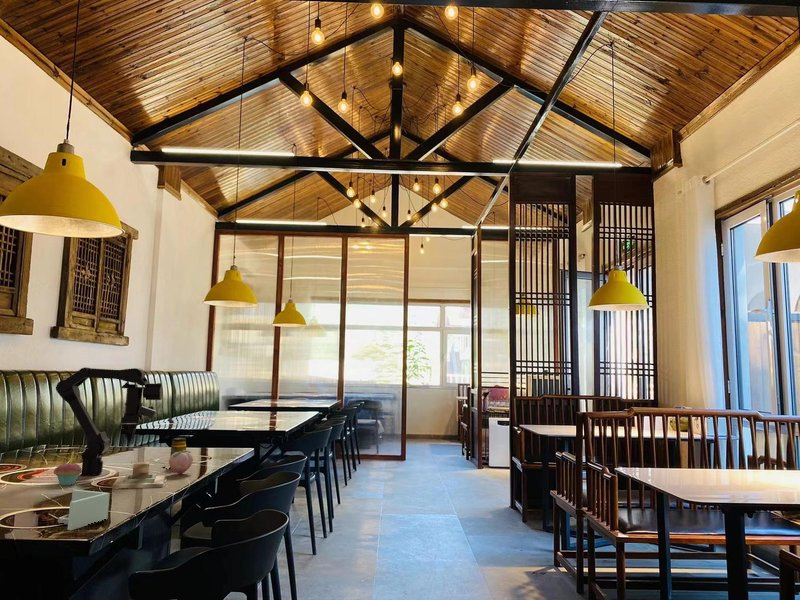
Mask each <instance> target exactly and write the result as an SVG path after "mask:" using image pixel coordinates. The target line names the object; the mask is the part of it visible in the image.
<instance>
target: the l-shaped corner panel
mask: <svg viewBox="0 0 800 600" xmlns="http://www.w3.org/2000/svg"><path fill="white" fill-rule="evenodd" d="M71 493H72V494H71V501H69V511H68V514H65V515H63V516H60V517H58V518H57V523H58V524H60V523H64V524H63V525H67V531H73V530H76V529H80V528H84V527H86V526H89V525H88V524H90V525H92V524H91V523H93V524H95V523H94V522H96V523H98V521H99V522H102V520H103V521H105V520H104V519H106V520H108V518H109V516H108V515H109V503H110V496H111V495H110V492H102V491H92V490H81V489H73V490H72V492H71Z"/></svg>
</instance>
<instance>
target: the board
mask: <svg viewBox="0 0 800 600" xmlns="http://www.w3.org/2000/svg"><path fill="white" fill-rule="evenodd" d="M165 479H166V475H157V473H149V475H148V479H132V474H126V475H125V476H118V477H117V478H116V480H115V481H114V482H113V484H112V486H111V487H112V488H111V489H112V490H119V489H118V488H128V489H146V488H148V489H150V488H163V487H164V484H165Z"/></svg>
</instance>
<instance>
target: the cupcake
mask: <svg viewBox="0 0 800 600" xmlns="http://www.w3.org/2000/svg"><path fill="white" fill-rule="evenodd" d="M74 455H75V450H74V449H73V450H72V451H71V457H70V460H69V463H67V462H65V463H63V464H60V465H58V466H57V467H56V468H55V469H54V470H53V475H55V476H56V477H57V481H58V484H59V485H60V486H70V485H71V484H72V485H75V484H76V481H77V480H78V477H79V476H80V474H81V472H82V466H80V465H79V464H77V463H73V460H74Z"/></svg>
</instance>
